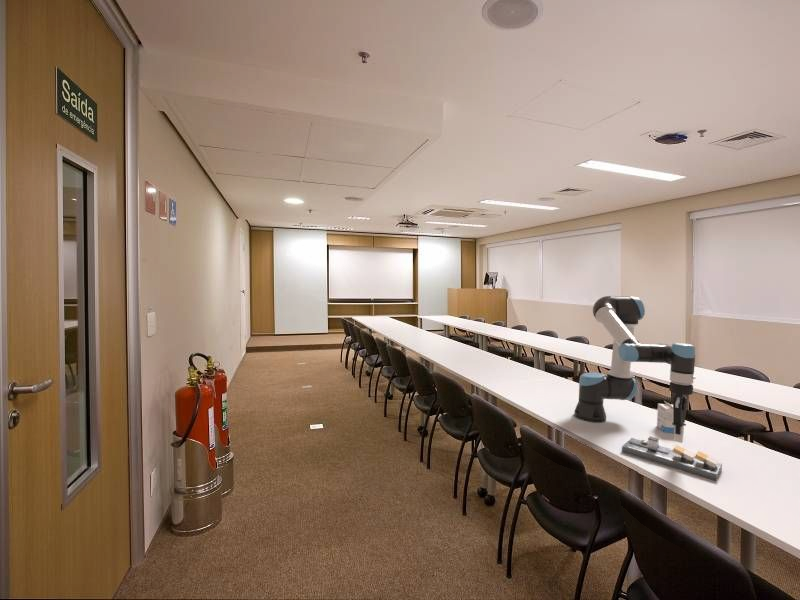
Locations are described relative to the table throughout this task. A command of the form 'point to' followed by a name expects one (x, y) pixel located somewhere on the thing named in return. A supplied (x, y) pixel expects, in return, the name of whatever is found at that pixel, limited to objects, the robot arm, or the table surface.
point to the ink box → (665, 418)
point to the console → (671, 459)
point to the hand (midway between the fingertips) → (678, 441)
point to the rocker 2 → (706, 459)
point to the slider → (653, 443)
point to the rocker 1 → (683, 452)
